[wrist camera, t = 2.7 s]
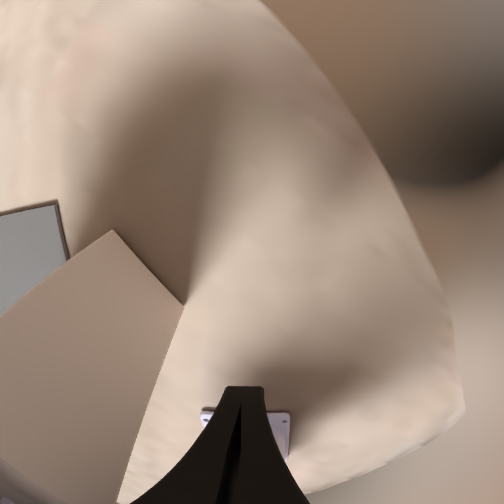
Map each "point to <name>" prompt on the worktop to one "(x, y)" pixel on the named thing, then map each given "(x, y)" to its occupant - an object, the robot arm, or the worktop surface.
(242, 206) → the worktop surface
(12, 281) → the mat
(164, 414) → the worktop surface
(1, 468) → the cream plain cuboid
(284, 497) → the robot arm
